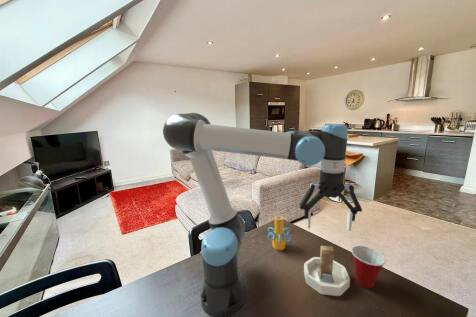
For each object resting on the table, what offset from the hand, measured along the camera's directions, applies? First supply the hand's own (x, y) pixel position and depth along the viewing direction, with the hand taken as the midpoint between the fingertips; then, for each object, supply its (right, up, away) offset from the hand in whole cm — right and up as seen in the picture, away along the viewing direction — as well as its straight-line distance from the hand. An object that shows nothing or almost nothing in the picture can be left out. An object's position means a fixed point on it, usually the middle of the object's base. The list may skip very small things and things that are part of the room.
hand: (328, 227), depth 76 cm
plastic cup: (+15, -21, +2) cm, 26 cm away
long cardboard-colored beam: (+1, -20, +4) cm, 20 cm away
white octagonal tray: (+1, -21, +4) cm, 21 cm away
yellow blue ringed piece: (-13, -17, +25) cm, 33 cm away
